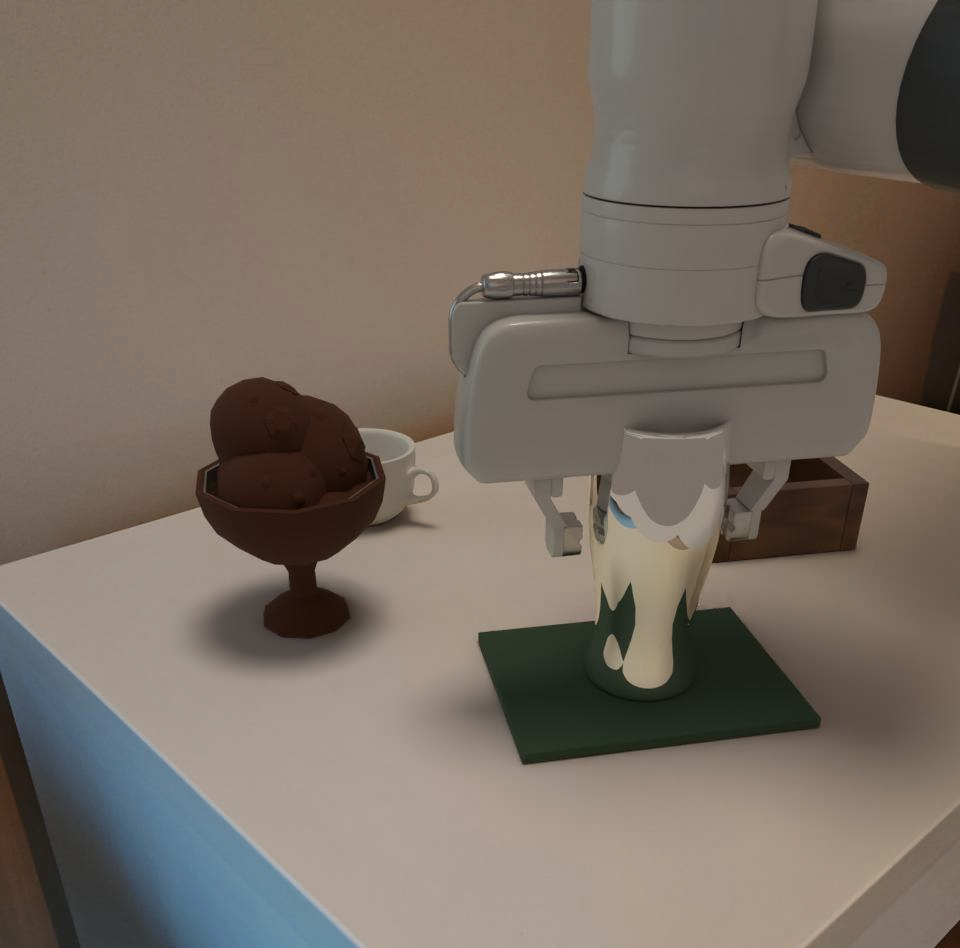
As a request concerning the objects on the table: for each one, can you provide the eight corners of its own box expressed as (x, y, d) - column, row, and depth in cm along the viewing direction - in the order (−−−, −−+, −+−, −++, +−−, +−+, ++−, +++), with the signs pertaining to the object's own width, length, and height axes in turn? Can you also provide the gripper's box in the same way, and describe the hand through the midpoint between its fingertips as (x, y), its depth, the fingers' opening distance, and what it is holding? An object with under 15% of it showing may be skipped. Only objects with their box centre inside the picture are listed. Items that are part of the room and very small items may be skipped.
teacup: (294, 524, 74) (287, 455, 71) (346, 487, 80) (341, 422, 77) (415, 548, 70) (412, 477, 68) (460, 507, 76) (459, 440, 74)
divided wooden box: (739, 447, 87) (747, 391, 84) (855, 549, 70) (869, 483, 68) (621, 456, 85) (626, 399, 83) (711, 562, 69) (720, 495, 66)
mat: (729, 614, 62) (730, 606, 62) (819, 727, 52) (821, 718, 52) (478, 640, 60) (478, 632, 60) (522, 764, 50) (523, 754, 50)
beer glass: (554, 679, 55) (565, 417, 47) (614, 626, 60) (633, 380, 52) (668, 722, 52) (701, 447, 44) (722, 662, 57) (761, 405, 49)
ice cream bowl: (295, 684, 56) (264, 426, 48) (183, 616, 62) (139, 380, 55) (429, 613, 63) (420, 377, 55) (315, 559, 69) (293, 341, 61)
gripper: (460, 290, 40) (464, 591, 47) (923, 268, 43) (860, 553, 51) (436, 259, 45) (443, 534, 53) (851, 242, 49) (803, 503, 56)
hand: (650, 543), depth 52 cm, fingers open, 8 cm apart
